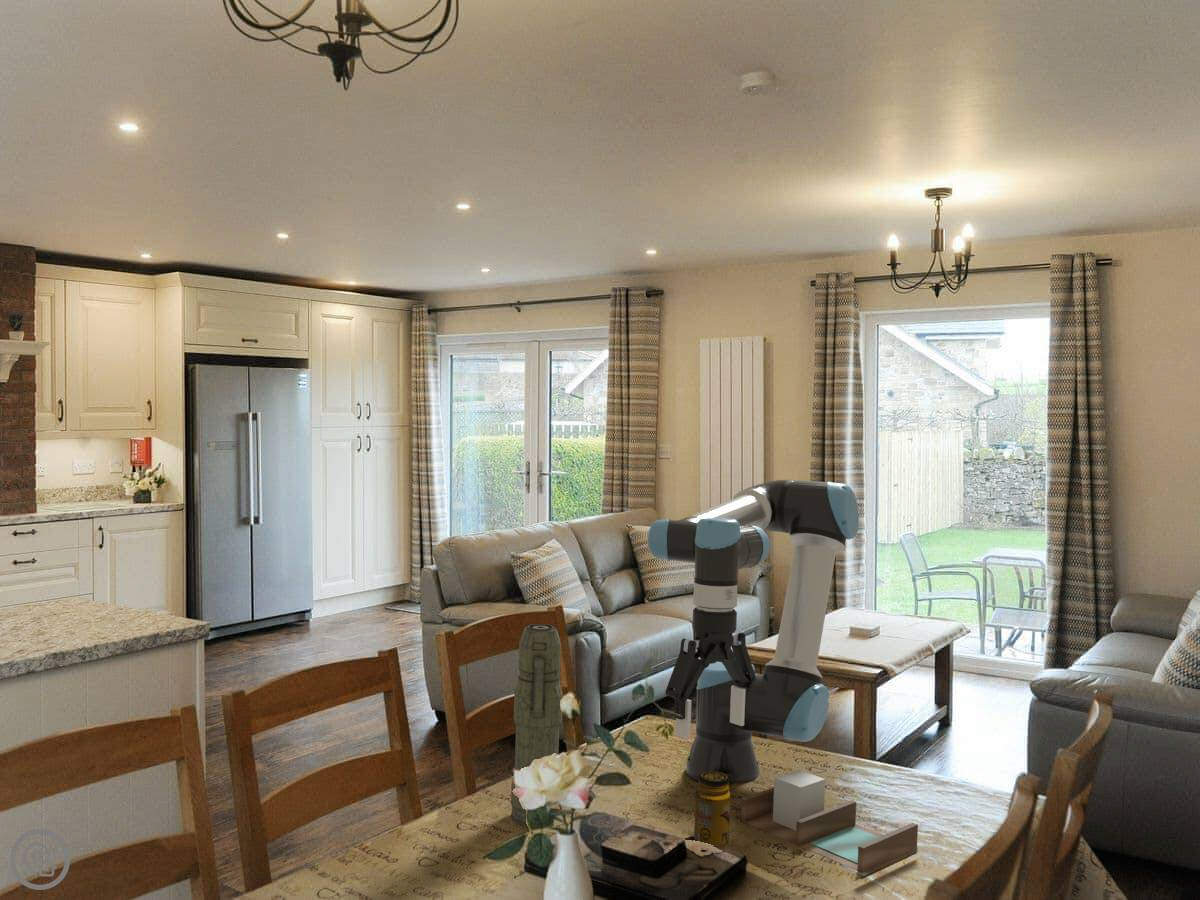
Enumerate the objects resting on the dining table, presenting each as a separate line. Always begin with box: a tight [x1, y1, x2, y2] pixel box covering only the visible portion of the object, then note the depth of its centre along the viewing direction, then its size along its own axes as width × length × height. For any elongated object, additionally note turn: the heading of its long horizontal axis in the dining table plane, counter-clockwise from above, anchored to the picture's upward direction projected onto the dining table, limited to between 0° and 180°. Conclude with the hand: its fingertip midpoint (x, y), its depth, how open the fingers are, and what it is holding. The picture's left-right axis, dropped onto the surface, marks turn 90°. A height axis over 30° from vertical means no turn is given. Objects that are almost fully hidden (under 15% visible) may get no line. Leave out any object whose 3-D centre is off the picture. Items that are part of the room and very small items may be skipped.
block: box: [773, 769, 826, 831], centre depth 176 cm, size 6×7×8 cm
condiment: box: [683, 771, 732, 847], centre depth 167 cm, size 7×8×12 cm
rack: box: [740, 787, 919, 880], centre depth 171 cm, size 26×16×5 cm, turn 40°
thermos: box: [510, 623, 564, 827], centre depth 177 cm, size 9×12×35 cm
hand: (710, 730), depth 167 cm, fingers open, 13 cm apart
